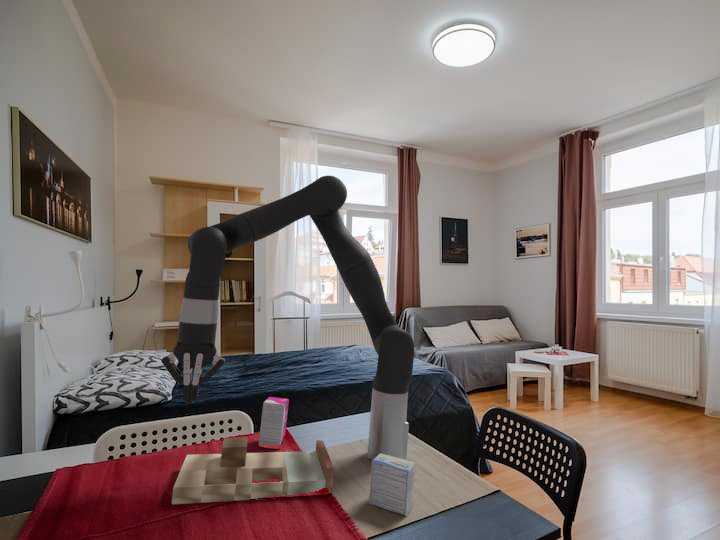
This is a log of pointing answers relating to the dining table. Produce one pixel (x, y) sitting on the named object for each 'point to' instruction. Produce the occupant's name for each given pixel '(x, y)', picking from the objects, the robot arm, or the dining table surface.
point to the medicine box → (392, 484)
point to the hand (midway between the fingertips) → (189, 402)
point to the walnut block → (233, 452)
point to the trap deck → (253, 476)
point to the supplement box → (273, 421)
